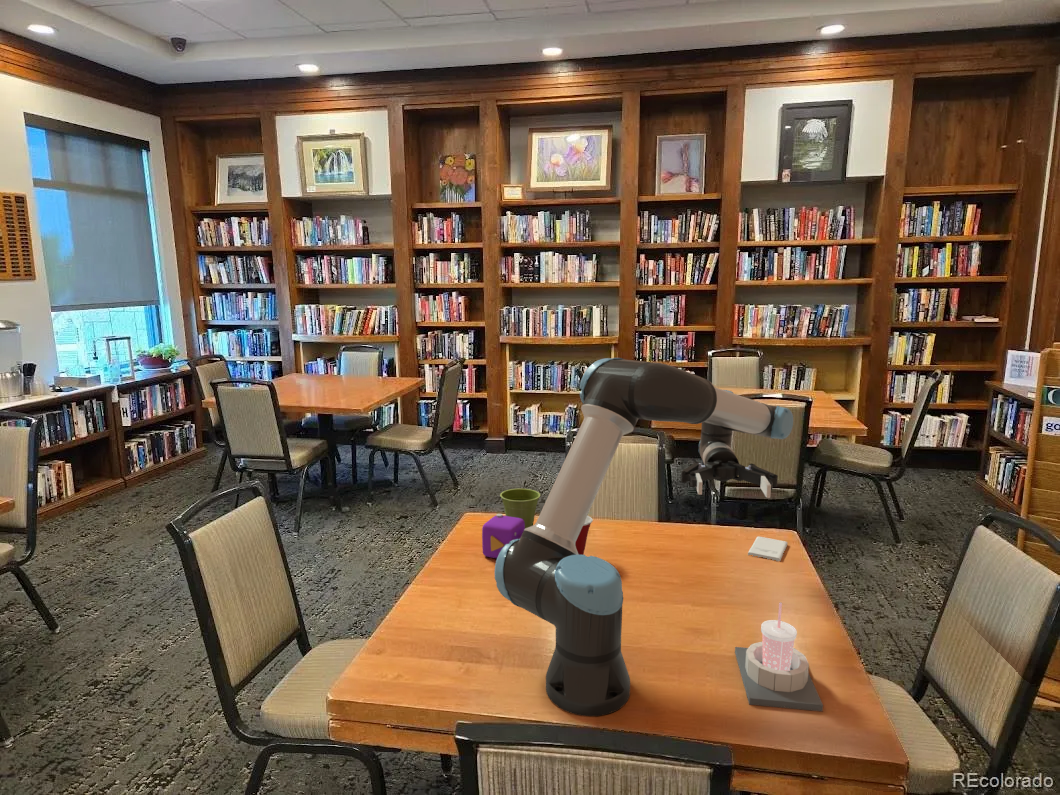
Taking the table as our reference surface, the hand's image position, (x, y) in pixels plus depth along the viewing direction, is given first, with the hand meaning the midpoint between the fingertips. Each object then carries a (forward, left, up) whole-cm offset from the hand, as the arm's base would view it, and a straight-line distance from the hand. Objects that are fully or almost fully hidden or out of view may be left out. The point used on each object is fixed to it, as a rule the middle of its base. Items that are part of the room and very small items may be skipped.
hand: (734, 490), depth 131 cm
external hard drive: (+17, +42, -31) cm, 54 cm away
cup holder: (+6, -19, -30) cm, 36 cm away
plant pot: (-53, +45, -30) cm, 76 cm away
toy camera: (-53, +28, -30) cm, 67 cm away
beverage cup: (+6, -19, -29) cm, 35 cm away
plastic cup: (-36, +27, -30) cm, 54 cm away
